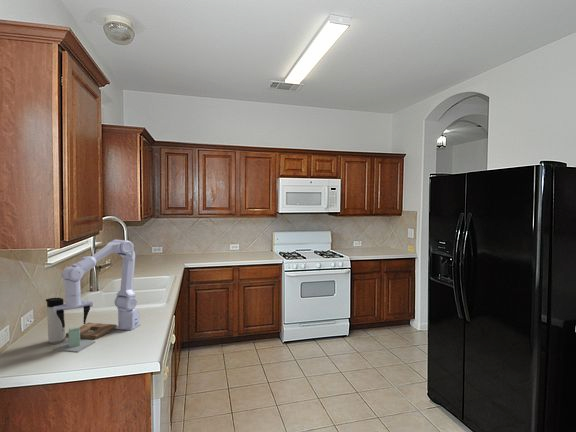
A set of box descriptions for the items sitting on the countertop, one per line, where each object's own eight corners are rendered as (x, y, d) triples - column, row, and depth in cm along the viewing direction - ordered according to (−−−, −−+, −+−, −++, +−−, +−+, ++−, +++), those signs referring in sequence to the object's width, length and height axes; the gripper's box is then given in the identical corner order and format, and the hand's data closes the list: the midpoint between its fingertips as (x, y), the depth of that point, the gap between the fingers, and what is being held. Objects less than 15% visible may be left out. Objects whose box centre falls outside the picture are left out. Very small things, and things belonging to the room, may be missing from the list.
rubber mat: (95, 342, 154) (95, 341, 154) (78, 352, 144) (77, 351, 144) (72, 340, 156) (72, 339, 156) (53, 350, 146) (53, 348, 146)
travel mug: (45, 341, 154) (43, 298, 153) (62, 337, 159) (60, 295, 158) (50, 345, 150) (48, 301, 149) (67, 340, 155) (65, 297, 154)
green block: (80, 342, 153) (79, 326, 152) (80, 345, 149) (79, 329, 149) (69, 344, 151) (69, 328, 150) (69, 347, 147) (68, 331, 147)
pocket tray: (116, 327, 171) (116, 324, 171) (96, 339, 157) (96, 336, 157) (88, 325, 173) (88, 322, 173) (66, 336, 160) (65, 333, 160)
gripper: (92, 289, 156) (93, 319, 156) (53, 294, 148) (54, 325, 149) (92, 293, 150) (93, 323, 150) (52, 298, 142) (53, 330, 143)
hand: (74, 325), depth 149 cm, fingers open, 7 cm apart
